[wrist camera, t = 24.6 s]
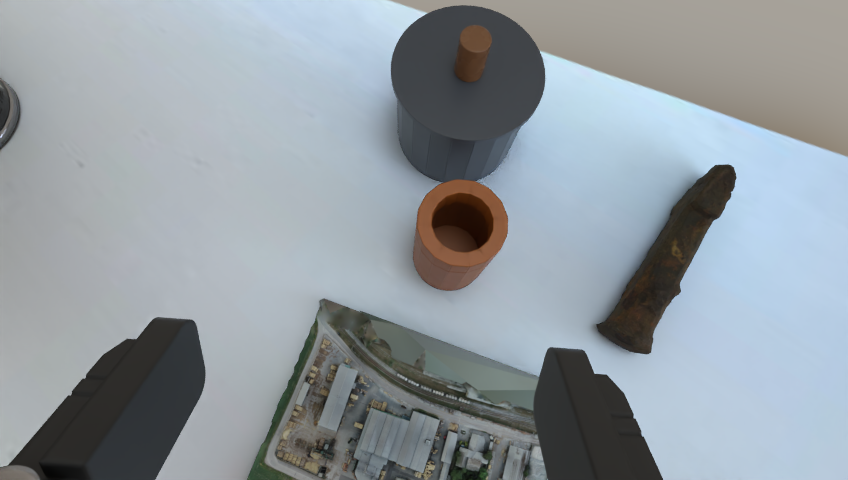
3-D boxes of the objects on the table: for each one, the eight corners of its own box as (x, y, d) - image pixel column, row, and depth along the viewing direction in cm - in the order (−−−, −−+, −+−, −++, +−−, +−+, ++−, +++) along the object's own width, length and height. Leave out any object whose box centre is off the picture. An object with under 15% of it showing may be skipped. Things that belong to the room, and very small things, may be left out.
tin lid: (384, 140, 35) (382, 106, 30) (397, 8, 38) (397, -40, 33) (540, 153, 35) (561, 122, 30) (541, 22, 38) (560, -24, 34)
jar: (410, 287, 40) (413, 262, 31) (416, 219, 42) (420, 175, 32) (481, 293, 40) (506, 270, 31) (484, 225, 42) (509, 183, 32)
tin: (393, 178, 43) (391, 130, 34) (403, 77, 46) (403, 9, 37) (509, 188, 43) (536, 143, 34) (511, 86, 46) (537, 21, 37)
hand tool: (628, 359, 40) (658, 358, 35) (589, 329, 40) (613, 324, 36) (730, 193, 44) (768, 174, 40) (694, 169, 45) (727, 147, 40)
